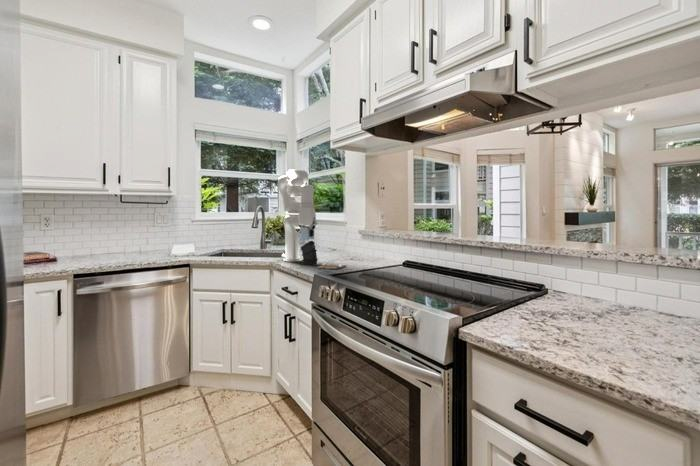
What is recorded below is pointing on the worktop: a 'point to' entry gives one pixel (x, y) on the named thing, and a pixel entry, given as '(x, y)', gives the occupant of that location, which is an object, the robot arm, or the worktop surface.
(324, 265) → the rail board
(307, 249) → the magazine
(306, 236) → the module
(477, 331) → the worktop surface
